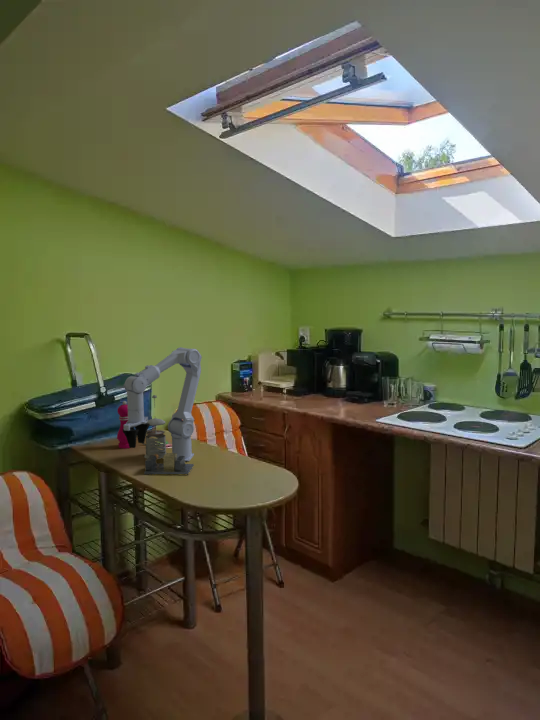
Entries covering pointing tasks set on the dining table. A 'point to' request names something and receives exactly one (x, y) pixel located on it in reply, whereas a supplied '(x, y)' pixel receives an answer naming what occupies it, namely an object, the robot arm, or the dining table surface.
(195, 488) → the dining table surface
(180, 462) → the vise
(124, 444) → the pepper mill
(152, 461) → the sliding jaw
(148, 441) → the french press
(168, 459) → the brass block
